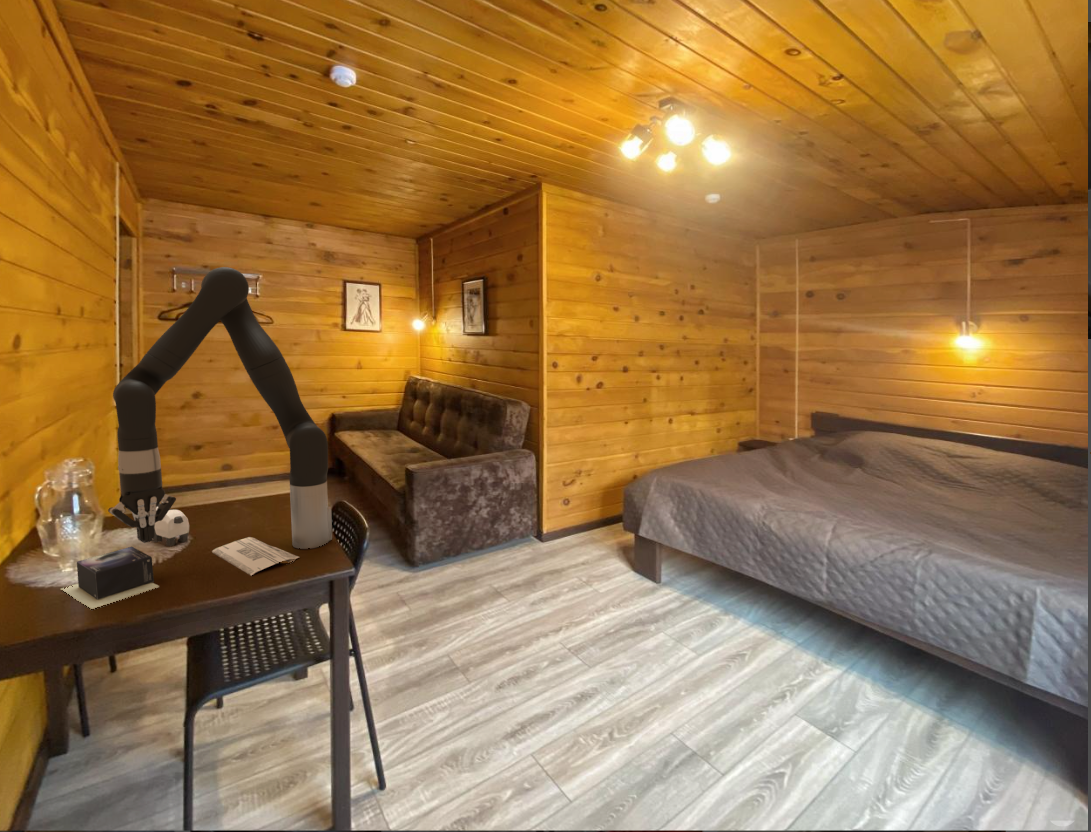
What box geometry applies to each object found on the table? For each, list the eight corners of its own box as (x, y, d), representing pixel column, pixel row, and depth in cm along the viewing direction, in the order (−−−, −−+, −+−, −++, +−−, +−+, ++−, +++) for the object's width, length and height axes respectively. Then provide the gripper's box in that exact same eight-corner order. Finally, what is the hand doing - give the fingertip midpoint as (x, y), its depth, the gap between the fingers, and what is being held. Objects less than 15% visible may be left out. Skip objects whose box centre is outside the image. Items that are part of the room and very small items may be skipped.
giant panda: (192, 541, 143) (190, 507, 141) (170, 548, 138) (168, 513, 136) (161, 531, 149) (158, 499, 147) (139, 538, 144) (136, 504, 142)
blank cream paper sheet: (126, 570, 124) (126, 568, 124) (159, 587, 116) (159, 585, 116) (60, 590, 114) (60, 588, 114) (91, 610, 106) (91, 608, 106)
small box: (152, 554, 117) (94, 572, 108) (155, 582, 118) (97, 601, 109) (131, 544, 122) (74, 560, 113) (134, 570, 123) (77, 588, 114)
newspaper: (302, 562, 133) (301, 553, 132) (252, 583, 123) (251, 573, 122) (259, 539, 146) (258, 531, 145) (211, 557, 136) (210, 548, 136)
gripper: (112, 476, 110) (119, 554, 113) (181, 465, 122) (186, 535, 124) (96, 471, 114) (104, 547, 116) (165, 460, 125) (170, 529, 128)
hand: (146, 541), depth 120 cm, fingers closed
